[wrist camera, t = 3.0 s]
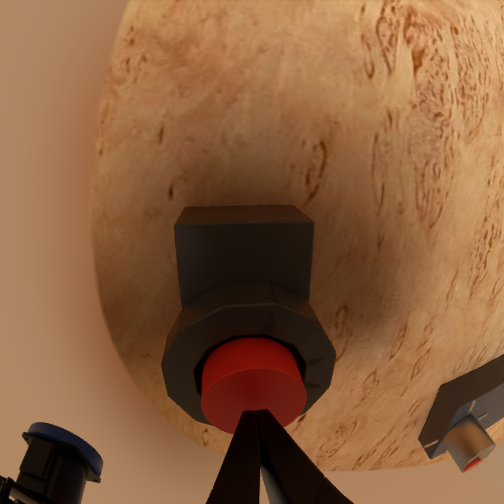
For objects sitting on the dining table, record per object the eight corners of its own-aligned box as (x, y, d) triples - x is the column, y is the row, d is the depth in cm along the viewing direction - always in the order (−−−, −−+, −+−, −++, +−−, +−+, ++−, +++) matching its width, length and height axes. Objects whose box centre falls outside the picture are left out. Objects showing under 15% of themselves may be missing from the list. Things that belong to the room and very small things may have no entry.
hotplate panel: (545, 328, 21) (561, 341, 18) (523, 380, 24) (536, 393, 21) (421, 393, 20) (439, 419, 17) (400, 446, 22) (412, 469, 19)
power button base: (299, 358, 17) (322, 422, 12) (185, 364, 16) (177, 432, 11) (310, 204, 14) (354, 233, 9) (167, 207, 13) (140, 239, 9)
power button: (292, 400, 12) (301, 430, 10) (206, 406, 11) (206, 438, 10) (300, 332, 11) (312, 362, 9) (198, 338, 10) (195, 370, 9)
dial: (479, 409, 18) (503, 439, 14) (466, 433, 19) (486, 462, 15) (450, 425, 18) (473, 459, 14) (437, 448, 19) (457, 480, 15)
